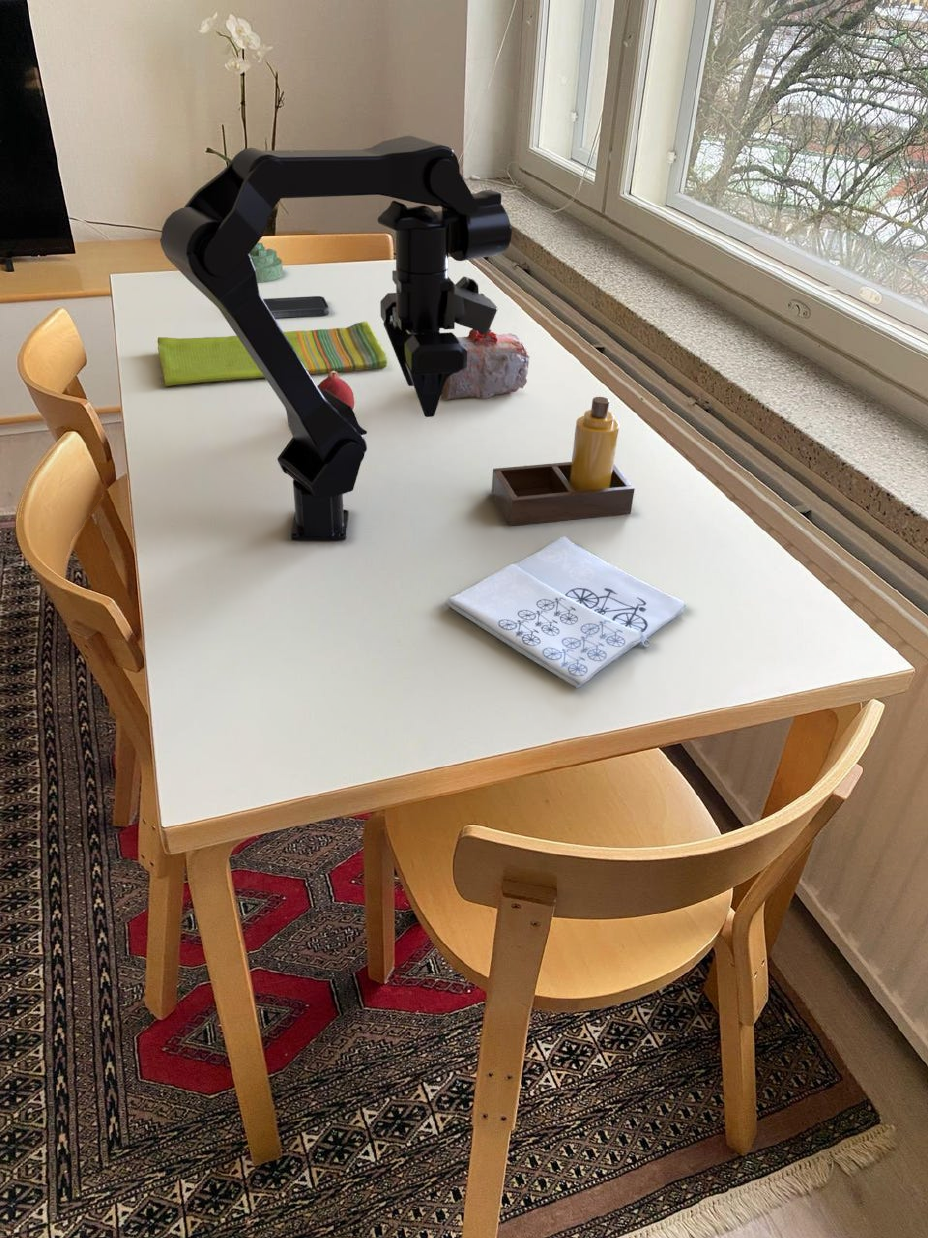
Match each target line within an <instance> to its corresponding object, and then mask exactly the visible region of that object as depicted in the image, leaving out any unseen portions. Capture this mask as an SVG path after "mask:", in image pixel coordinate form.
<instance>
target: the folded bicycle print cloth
mask: <svg viewBox="0 0 928 1238" xmlns="http://www.w3.org/2000/svg"><path fill="white" fill-rule="evenodd" d="M444 603H445V605H447V606H448V607H449V608H450V609H452V610H453V611H455V612H457V613H458V614H459V615H461V616H463V617H465V618H466V619H468V620H469V621H471V622H472V623H474V624H475V625H477V626H478V627H480V628H482V629H483V630H484V631H486V632H488V633H489V634H491V635H492V636H494V637H495V638H497V639H498V640H500V641H501V642H503V643H504V644H506V645H507V646H509V647H510V648H512V649H514V650H515V651H517V652H518V653H519V654H521V655H523V656H524V657H526V658H528V659H529V660H531V661H532V662H534V663H536V664H537V665H539V666H541V668H544V669H546V670H547V671H549V672H550V673H551V674H554V675H555V676H557V677H558V678H559V679H561V680H563V681H564V682H566V683H568V684H569V685H571V686H573V687H575V688H576V689H579V688H581V687H582V686H583V685H584V684H585V683H587V682H588V681H589V680H590V679H592V678H594V676H596V675H597V674H598V673H599V672H600V671H601V670H603V669H604V668H606V667H607V666H610V664H612V663H613V662H615V661H616V660H617V659H619V658H620V657H621V656H623V655H624V654H626V653H627V652H629V651H630V650H631V649H633V648H634V647H636V646H637V645H638V644H640V643H641V645H642V646H643V647H644V648H648V647H649V646H650V645H651V643H650V640H649V639H648V638H649V637H650V636H651V635H653V634H654V633H656V632H657V631H658V630H660V629H661V628H662V627H663V626H665V625H666V624H667V623H670V621H672V620H674V619H675V618H676V617H677V616H679V615H680V614H681V613H682V612H683V611H684V610H685V608H686V606H687V603H686V602H685V600H683V599H681V598H677V597H674V596H673V595H670V594H667V593H666V592H664V591H662V590H660V589H658V588H656V587H654V586H653V585H651V584H648V583H647V582H645V581H643V580H641V579H639V578H637V577H635V576H633V575H631V574H629V573H627V572H625V571H624V570H622V569H620V568H619V567H616V566H615V565H613V564H611V563H609V562H606V561H605V560H603V559H601V558H599V557H597V556H596V555H594V554H593V553H592V552H591V553H590V552H589V551H587V549H584V548H583V547H581V546H579V545H578V544H576V543H574V542H572V541H570V539H569V538H568V537H566V536H565V535H562V536H559V537H558V538H556V539H555V540H554V541H553V542H551V543H549V544H548V545H546V546H544V547H543V548H541V549H540V550H538V551H537V552H535V553H532V554H531V555H529V556H526V557H525V558H523V559H521V560H519V561H517V562H515V563H510V564H507V565H505V566H504V567H502V568H501V569H500V570H498V571H496V572H494V573H492V574H491V575H488V576H487V577H485V578H484V579H482V580H481V581H479V582H478V583H476V584H474V585H472V586H471V587H468V588H466V589H464V590H462V591H460V592H459V593H458V594H456V595H452V596H450V597H448V598H447V600H446V601H445V602H444ZM645 642H646V643H647V645H645Z"/></svg>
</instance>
